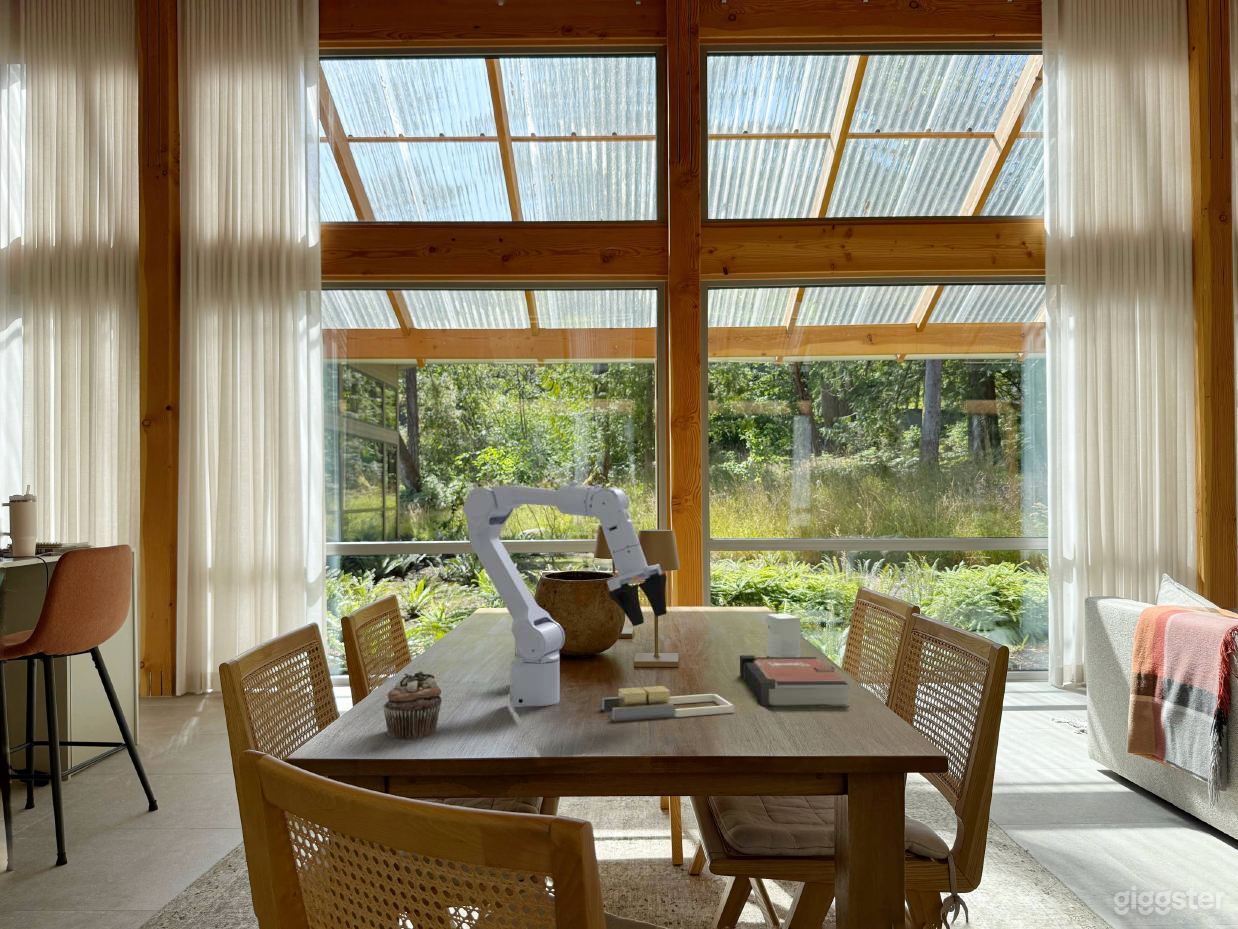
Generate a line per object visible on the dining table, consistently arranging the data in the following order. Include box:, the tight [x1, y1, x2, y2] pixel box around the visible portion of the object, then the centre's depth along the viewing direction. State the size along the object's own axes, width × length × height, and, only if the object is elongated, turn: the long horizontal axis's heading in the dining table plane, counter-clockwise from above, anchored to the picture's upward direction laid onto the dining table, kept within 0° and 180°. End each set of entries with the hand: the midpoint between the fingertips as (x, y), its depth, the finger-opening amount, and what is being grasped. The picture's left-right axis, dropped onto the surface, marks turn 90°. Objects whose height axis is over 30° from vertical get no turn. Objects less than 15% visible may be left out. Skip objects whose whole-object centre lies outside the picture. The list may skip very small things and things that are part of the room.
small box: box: [765, 613, 802, 657], centre depth 200 cm, size 8×6×10 cm
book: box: [739, 654, 850, 708], centre depth 168 cm, size 26×18×5 cm
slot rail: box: [601, 696, 675, 722], centre depth 148 cm, size 11×8×3 cm
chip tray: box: [670, 693, 735, 718], centre depth 150 cm, size 11×9×2 cm
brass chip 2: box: [641, 685, 671, 705], centre depth 148 cm, size 4×4×4 cm
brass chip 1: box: [618, 687, 646, 707], centre depth 147 cm, size 4×4×4 cm
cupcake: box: [382, 671, 442, 740], centre depth 139 cm, size 10×10×10 cm
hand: (650, 620), depth 149 cm, fingers open, 7 cm apart
